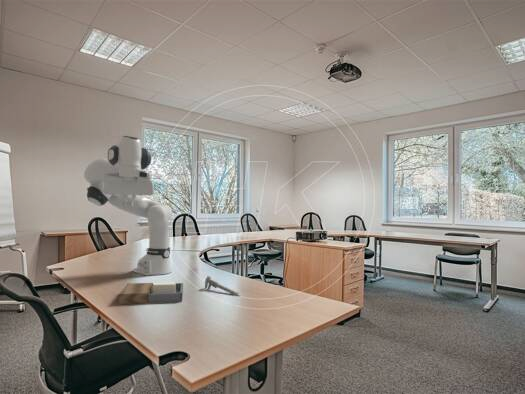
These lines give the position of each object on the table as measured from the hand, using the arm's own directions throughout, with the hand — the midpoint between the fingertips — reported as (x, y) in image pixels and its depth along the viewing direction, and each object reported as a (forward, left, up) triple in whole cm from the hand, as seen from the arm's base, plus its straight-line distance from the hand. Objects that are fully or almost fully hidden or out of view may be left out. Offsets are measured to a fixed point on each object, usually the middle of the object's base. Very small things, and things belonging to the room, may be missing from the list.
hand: (128, 205), depth 136 cm
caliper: (+30, +28, -40) cm, 57 cm away
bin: (+14, +10, -39) cm, 43 cm away
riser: (+5, +2, -39) cm, 39 cm away
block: (+10, +6, -36) cm, 38 cm away
